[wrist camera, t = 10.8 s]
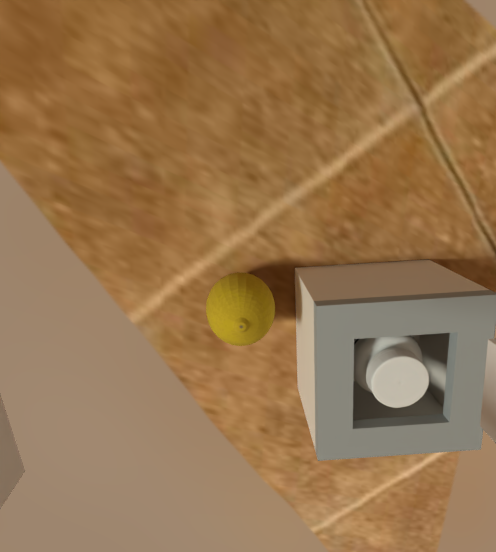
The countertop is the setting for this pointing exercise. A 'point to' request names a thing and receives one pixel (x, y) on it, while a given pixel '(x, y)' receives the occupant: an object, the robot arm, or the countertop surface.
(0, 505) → the robot arm
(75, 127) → the countertop surface
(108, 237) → the countertop surface
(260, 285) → the lemon
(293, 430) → the countertop surface
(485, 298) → the drop box
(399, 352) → the pill bottle
